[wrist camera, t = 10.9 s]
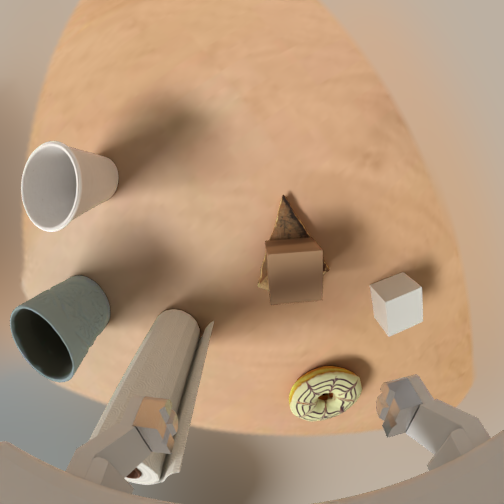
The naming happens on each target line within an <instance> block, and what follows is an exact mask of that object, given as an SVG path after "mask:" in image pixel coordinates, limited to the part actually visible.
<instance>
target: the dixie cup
mask: <svg viewBox="0 0 504 504" xmlns="http://www.w3.org/2000/svg"><path fill="white" fill-rule="evenodd" d="M118 180H119V176H118V170H117V168H116V166H115V164H114V162H113V161H112V160H111V159H109V158H107V157H104V156H101V155H97V154H94V153H90V152H87V151H83V150H79V149H76V148H72V147H68V146H67V145H65V144H64V143H62V142H59V141H49V142H46V143H43V144H42V145H40V146H39V147H37V148H36V149H35V150H34V152H33V153H32V154H31V155H30V157H29V159H28V161H27V163H26V165H25V168H24V171H23V175H22V183H21V193H22V200H23V204H24V208H25V210H26V212H27V214H28V216H29V218H30V219H31V221H32V222H33V223H34V224H35V225H36V226H37V227H38V228H40V229H42V230H44V231H48V232H55V231H59V230H61V229H63V228H65V227H66V226H67V225H68V224H69V223H70V222H71V221H72V220H73V219H75V218H77V217H78V216H80V215H82V214H83V213H85V212H87V211H89V210H90V209H92V208H94V207H96V206H97V205H99V204H101V203H103V202H105V201H107V200H108V199H110V198H111V197H112V196H113V194H114V193H115V191H116V189H117V186H118Z"/></svg>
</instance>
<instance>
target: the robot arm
mask: <svg viewBox="0 0 504 504" xmlns="http://www.w3.org/2000/svg"><path fill="white" fill-rule="evenodd" d="M380 390H381V392H382V393H381V394H380V395H379V396H378V398H377V401H376V409H377V414H378V416H379V418H381V419H382V420H384V423H383V425H382V426H383V428H384V431H385V433H386V436H387V437H391V436H395V435H398V434H402V433H405V432H406V434H408V435H409V436H410V437H412V438H413V439H414V440H415V441H417V442H418V443H420V444H421V445H422V446H424V447H425V448H427V449H428V450H429V451H431V452H432V453H433V454H435V456H434V457H433V458H432V459H431V460H430V462H429V463H428V465H427V466H428V469H429V471H428V472H425V473H423V474H421V475H418V476H416V477H413V478H411V479H408V480H405V481H403V482H400V483H397V484H394V485H391V486H388V487H385V488H381V489H378V490H374V491H371V492H367V493H363V494H359V495H355V496H351V497H346V498H342V499H337V500H332V501H326V502H321V503H313V504H504V430H502V431H501V432H499V433H498V434H496V435H495V436H493V437H492V438H490V436H489V434H488V433H487V431H486V430H485V428H484V427H483V425H482V423H481V422H480V420H479V419H478V418H477V417H475V416H472V415H470V414H468V413H466V412H463V411H461V410H459V409H457V408H455V407H453V406H451V405H449V404H447V403H445V402H442V401H440V400H438V399H435V400H434V399H433V397H432V396H431V394H430V393H429V391H428V389H427V388H426V386H425V385H424V383H423V382H422V380H421V379H420V377H419V376H418V375H417V374H415V375H411V376H408V377H403V378H400V379H396V380H392V381H388V382H384V383H383V384H382V385H381V388H380ZM172 406H173V404H172V402H171V400H170V399H163V398H154V397H147V396H138V395H134V396H133V397H132V398H131V400H130V402H129V404H128V406H127V408H126V411H125V413H124V415H123V417H122V420H121V422H120V424H118V423H116V424H115V425H113V426H112V427H110V428H109V429H107V430H106V431H104V432H102V433H101V434H99V435H98V436H96V437H95V438H93V439H91V440H90V441H88V442H87V443H85V444H84V445H82V446H80V447H79V448H77V449H76V451H75V453H74V455H73V457H72V459H71V461H70V463H69V465H68V467H67V469H66V471H63V470H61V469H58V468H56V467H54V466H52V465H50V464H48V463H46V462H44V461H41V460H40V459H38V458H36V457H34V456H32V455H30V454H28V453H26V452H25V451H23V450H21V449H19V448H18V447H16V446H15V445H13V444H11V443H9V442H7V441H2V442H0V504H179V503H172V502H166V501H161V500H156V499H151V498H146V497H141V496H137V495H133V494H132V492H133V487H132V486H131V485H130V484H129V483H128V482H127V481H126V480H125V479H124V478H125V477H126V476H128V475H129V474H130V473H131V472H132V471H133V470H134V469H135V468H136V467H137V466H138V465H139V464H141V463H142V462H143V461H144V460H145V459H146V458H147V457H148V456H149V455H150V454H151V453H152V452H157V453H165V454H172V450H173V446H174V442H175V441H174V439H173V437H172V436H174V435H175V434H176V433H177V429H178V417H177V414H176V412H175V411H174V410H172Z"/></svg>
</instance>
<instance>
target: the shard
mask: <svg viewBox="0 0 504 504" xmlns="http://www.w3.org/2000/svg"><path fill="white" fill-rule="evenodd" d="M309 237H310V235H309V233H308V232H307V230H306V229H305V227H304V225H303V224H302V222H301V221H300V220H299V218H298V217H297V216H296V214H295V213H294V212H293V210H292V208H291V207H290V203H289V202H288V200H287V199H286V197H285V196H284V195H283V196H282V199H281V202H280V206H279V210H278V215H277V219H276V223H275V227H274V230H273V233H272V235H271V237H270V240H282V239H295V238H309ZM328 271H329V267H328V266H327V265H326V263H325V262H324V260H323V275H324V274H325V273H326V272H328ZM258 287H260V288H262V289H265V290H268V291H269V287H268V273H267V259H266V252H265V257H264V261H263V264H262V267H261V276H260V280H259V282H258Z"/></svg>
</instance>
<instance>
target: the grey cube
mask: <svg viewBox="0 0 504 504" xmlns="http://www.w3.org/2000/svg"><path fill="white" fill-rule="evenodd" d="M370 291H371V297H372V304H373V312H374V317H375V319H376V320H377V321H378V323H379V324H380V326H381V327H382V328H383V330H384V331H385V332H386V334H387V335H388V337H389V336H392V335H394V334H396V333H399V332H401V331H403V330H405V329H408V328H410V327H412V326H414V325H416V324H419V323H421V322H423V301H422V287H421V286H420V285H419V284H418V283H416V282H415V281H414V280H413V279H411V278H410V277H409V276H408V275H406V274H405V273H404V272H401V273H399V274H396V275H394V276H391V277H389V278H386V279H384V280H381V281H378V282H376V283H373V284H370Z"/></svg>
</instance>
